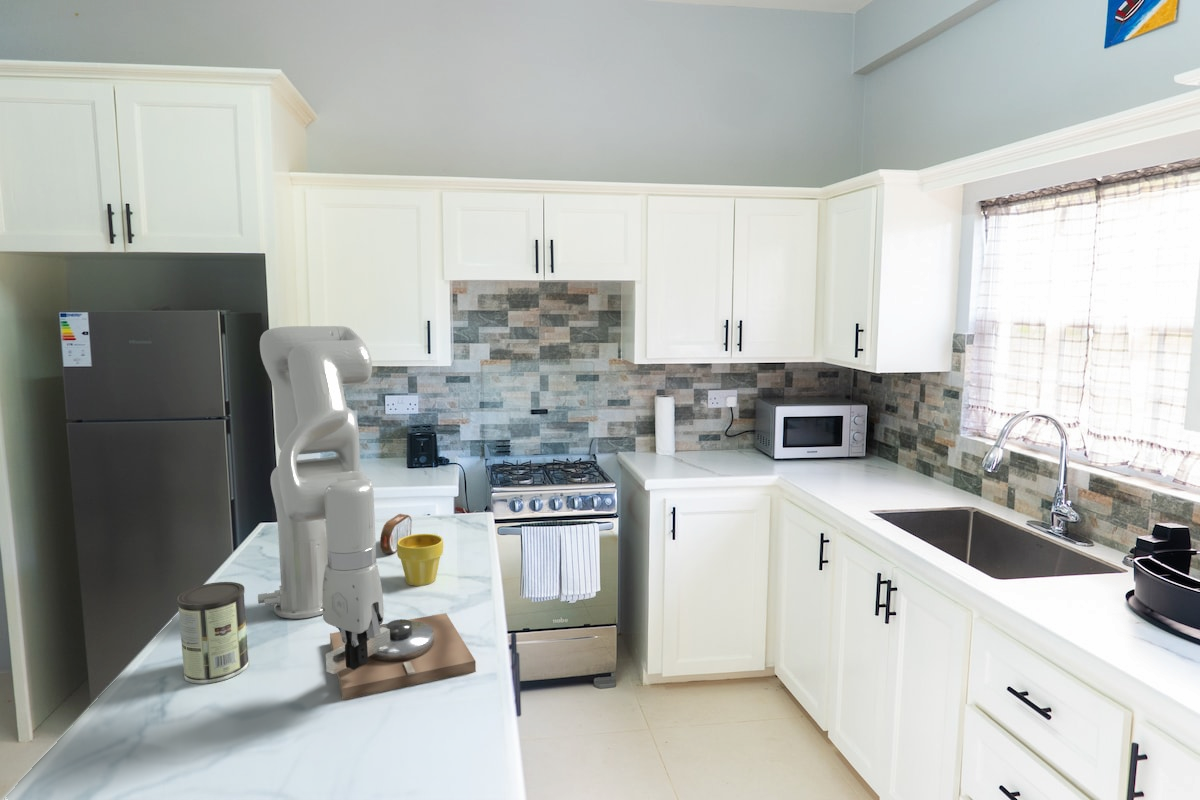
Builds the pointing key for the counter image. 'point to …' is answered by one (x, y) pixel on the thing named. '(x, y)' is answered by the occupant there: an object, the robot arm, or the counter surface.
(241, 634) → the coffee can
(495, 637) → the counter surface
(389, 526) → the tin
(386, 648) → the dial
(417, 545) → the plant pot
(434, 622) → the dial board
